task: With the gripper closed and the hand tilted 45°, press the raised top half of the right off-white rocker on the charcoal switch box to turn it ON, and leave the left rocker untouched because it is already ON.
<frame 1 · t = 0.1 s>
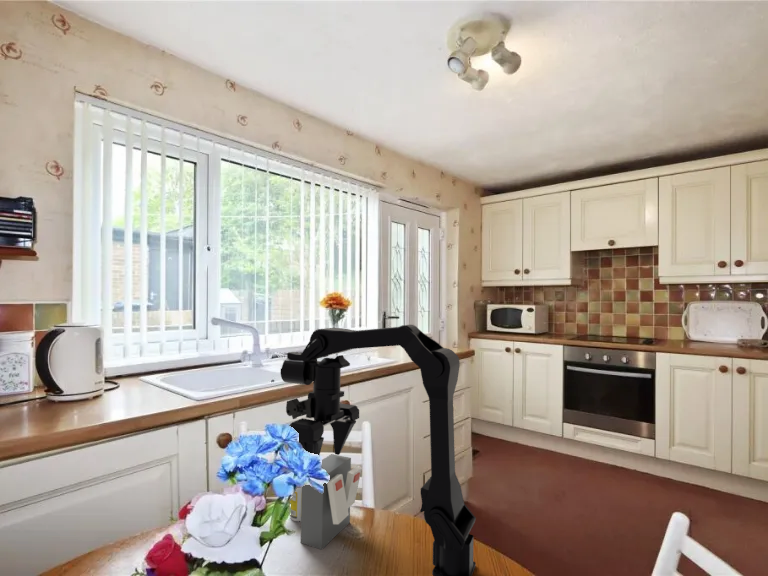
hand: (325, 461, 87), 15 cm above the table, tool pointing down, fingers open, 9 cm apart
switch box: (326, 532, 86), on the table
right rocker: (351, 488, 87), point 9 cm above the table, hinge at -12.0°
supplement bottle: (301, 516, 93), on the table
left rocker: (338, 498, 82), point 9 cm above the table, hinge at 12.0°
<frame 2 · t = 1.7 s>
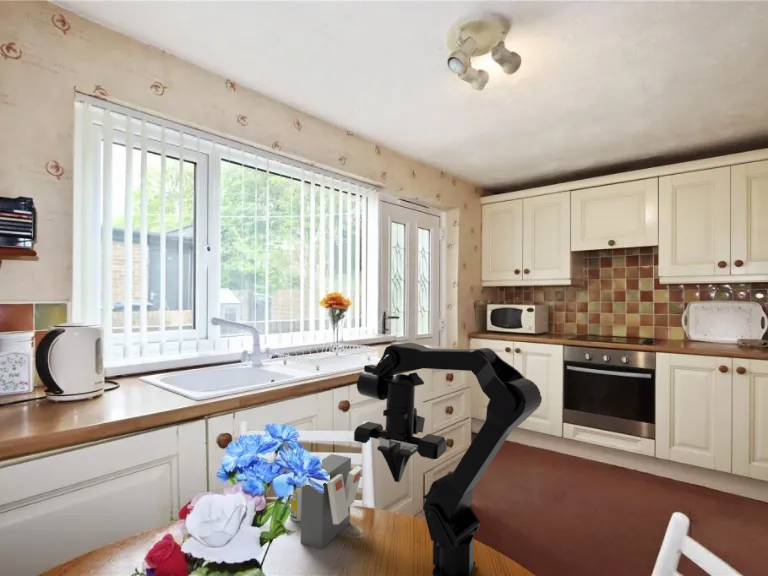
hand: (397, 481, 84), 12 cm above the table, tool pointing down, fingers closed
right rocker: (351, 488, 87), point 9 cm above the table, hinge at -14.8°
everything else where it was.
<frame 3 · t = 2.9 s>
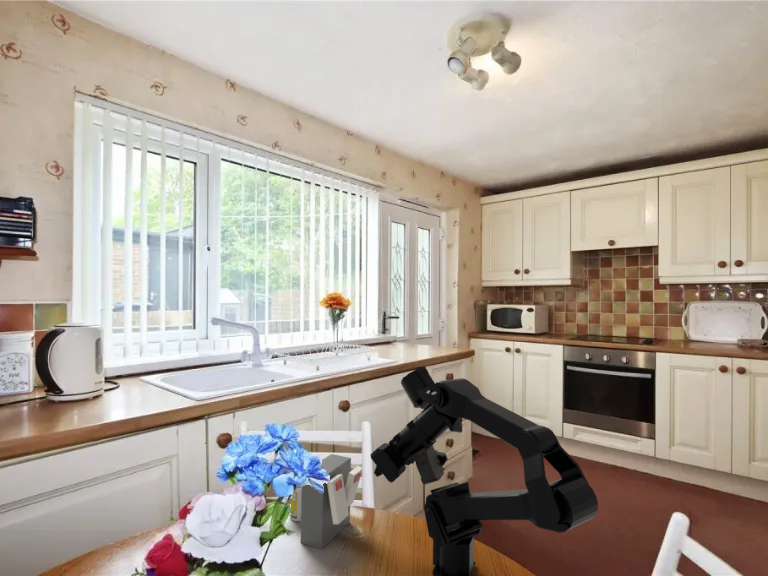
hand: (376, 474, 85), 13 cm above the table, tool tilted 45°, fingers closed
right rocker: (351, 488, 87), point 9 cm above the table, hinge at -16.1°
everything else where it was.
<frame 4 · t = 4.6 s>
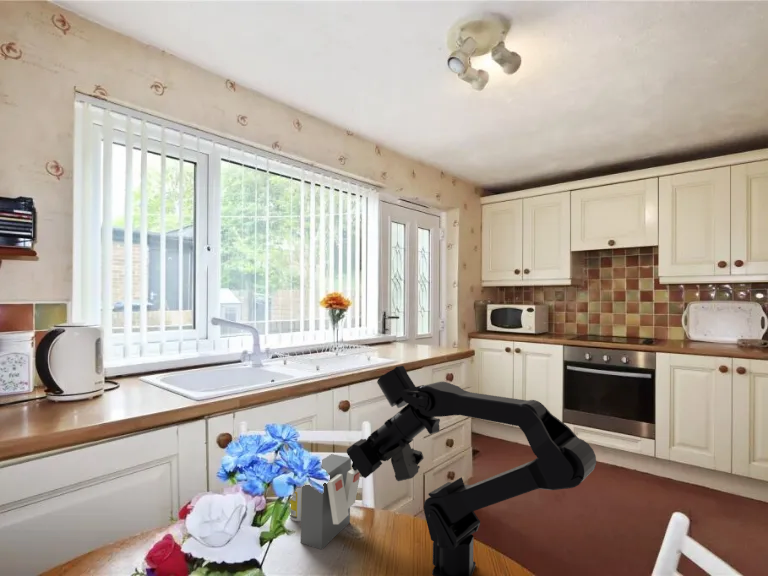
hand: (353, 467, 88), 13 cm above the table, tool tilted 50°, fingers closed, pressing on right rocker
right rocker: (351, 487, 87), point 9 cm above the table, hinge at -10.7°, touching gripper
everything else where it was.
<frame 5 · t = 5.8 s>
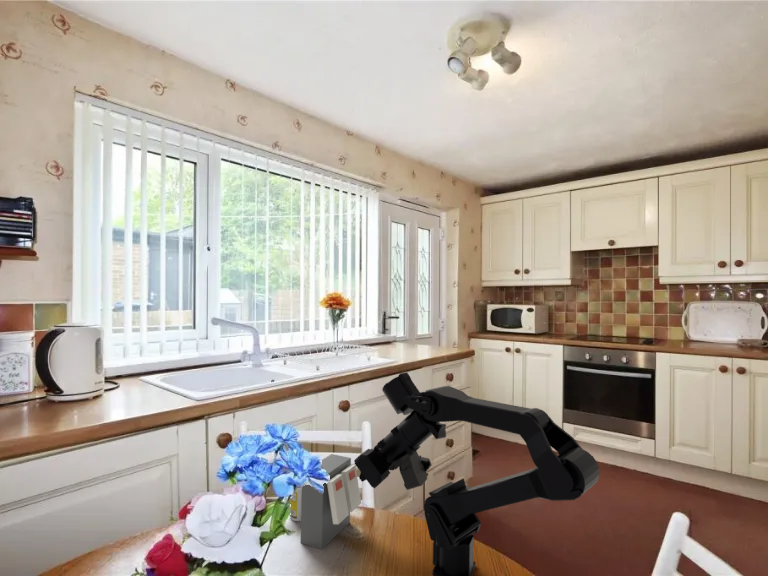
hand: (361, 479, 86), 11 cm above the table, tool tilted 45°, fingers closed
right rocker: (351, 487, 87), point 9 cm above the table, hinge at 11.7°
everything else where it was.
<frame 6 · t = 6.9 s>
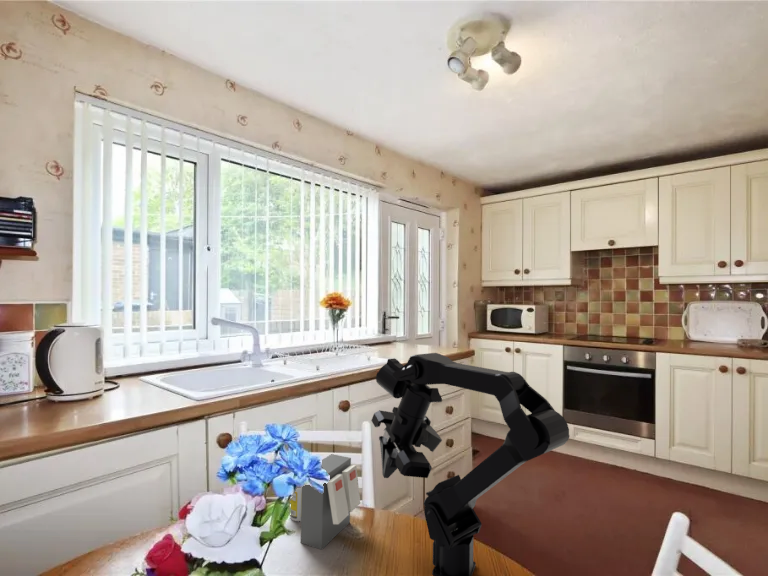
hand: (385, 476, 86), 12 cm above the table, tool tilted 20°, fingers closed
right rocker: (351, 487, 87), point 9 cm above the table, hinge at 8.5°
everything else where it was.
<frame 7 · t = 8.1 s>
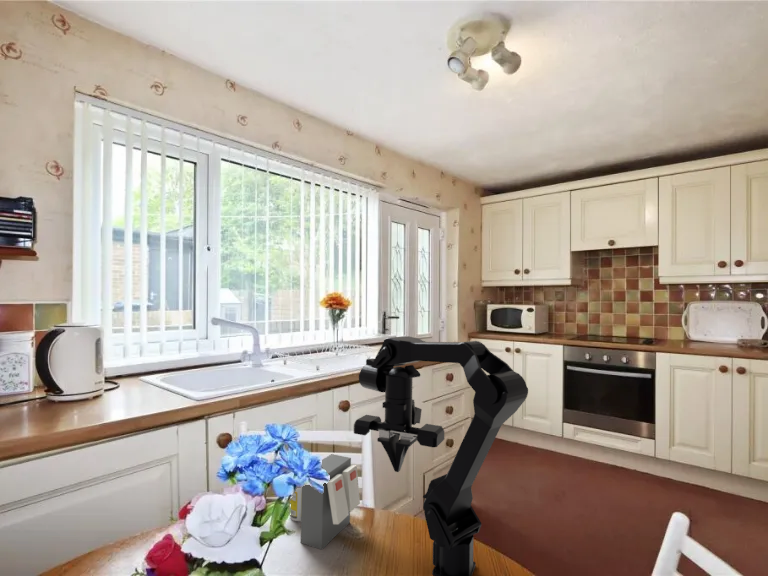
hand: (397, 471, 87), 13 cm above the table, tool pointing down, fingers closed
right rocker: (351, 487, 87), point 9 cm above the table, hinge at 7.0°
everything else where it was.
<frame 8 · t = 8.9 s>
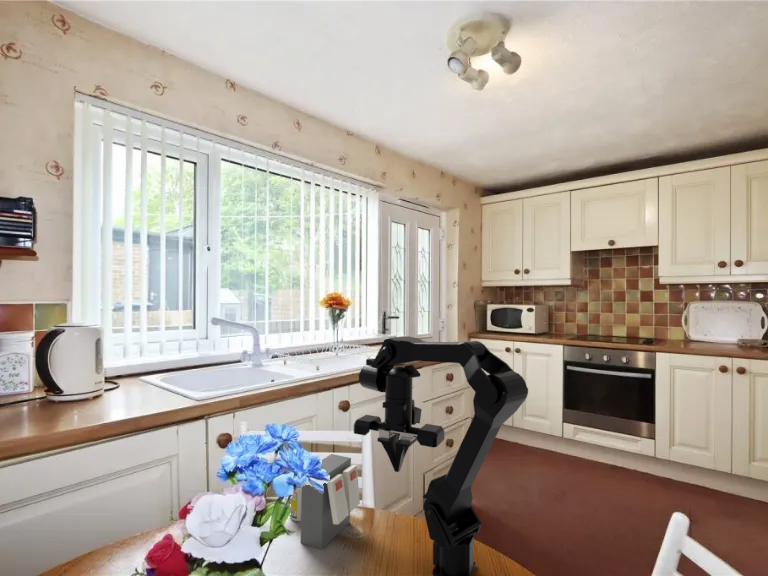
hand: (397, 471, 87), 13 cm above the table, tool pointing down, fingers closed
right rocker: (351, 487, 87), point 9 cm above the table, hinge at 6.5°
everything else where it was.
at the end: right rocker at +6° (first picture: -12°); left rocker at +12° (first picture: +12°) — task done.
